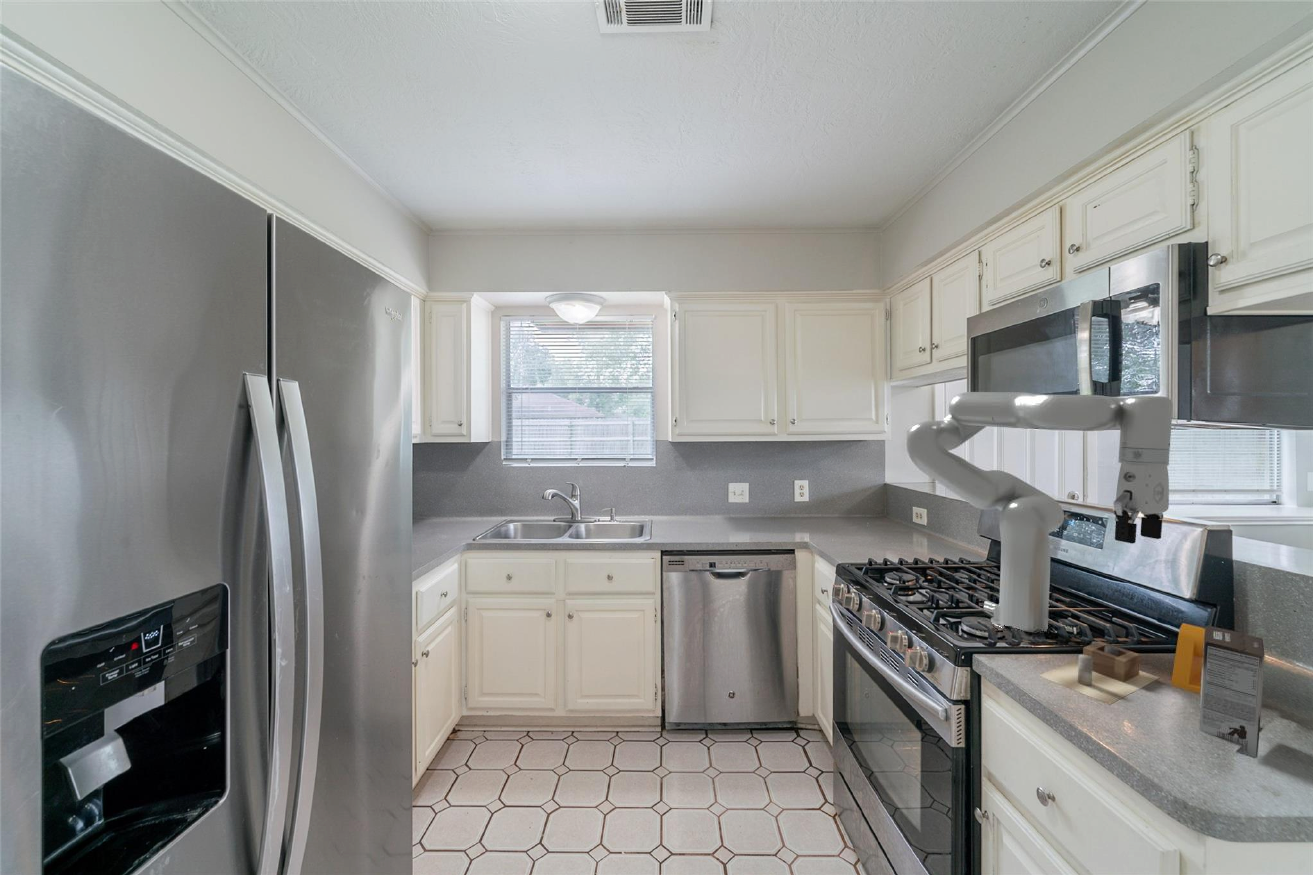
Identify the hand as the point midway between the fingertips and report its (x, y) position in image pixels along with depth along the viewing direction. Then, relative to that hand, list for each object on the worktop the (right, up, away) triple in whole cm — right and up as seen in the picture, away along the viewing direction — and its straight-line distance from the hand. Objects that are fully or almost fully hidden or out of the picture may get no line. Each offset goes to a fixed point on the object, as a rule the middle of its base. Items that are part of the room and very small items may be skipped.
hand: (1137, 539), depth 107 cm
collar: (-11, -25, -6) cm, 27 cm away
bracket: (+3, -27, -11) cm, 29 cm away
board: (-15, -26, -8) cm, 31 cm away
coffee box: (-8, -27, -24) cm, 37 cm away
